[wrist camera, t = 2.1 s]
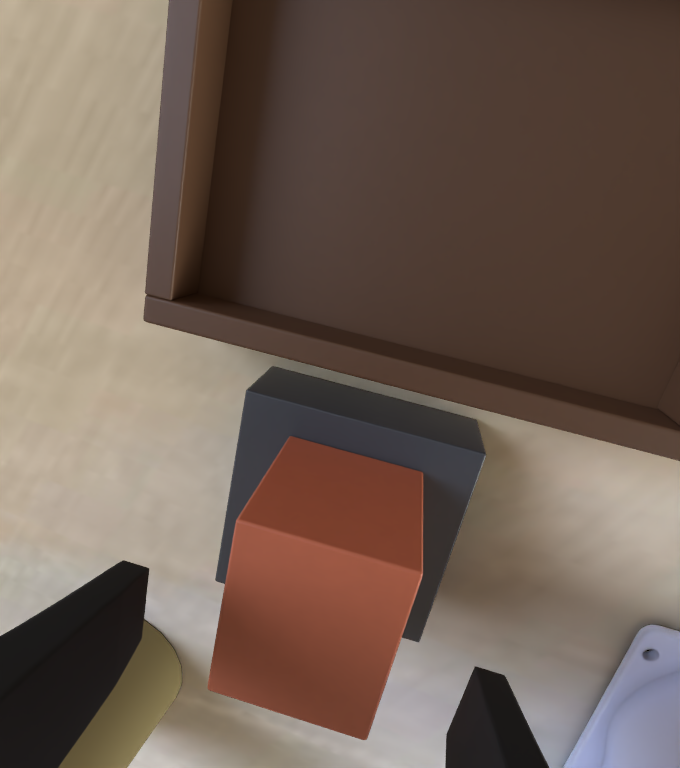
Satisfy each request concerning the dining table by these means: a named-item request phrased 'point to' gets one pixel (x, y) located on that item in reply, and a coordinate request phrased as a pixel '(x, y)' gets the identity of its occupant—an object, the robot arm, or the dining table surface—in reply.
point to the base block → (367, 438)
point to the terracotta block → (320, 586)
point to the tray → (433, 199)
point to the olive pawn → (130, 706)
